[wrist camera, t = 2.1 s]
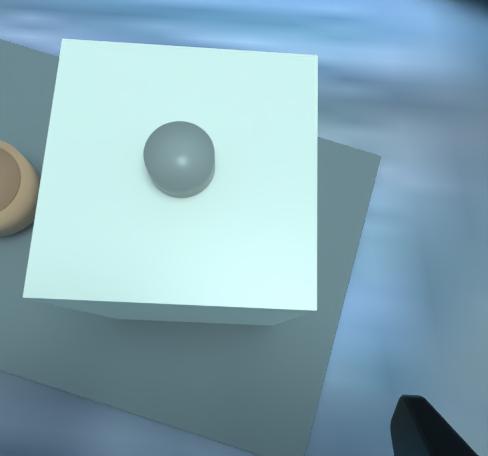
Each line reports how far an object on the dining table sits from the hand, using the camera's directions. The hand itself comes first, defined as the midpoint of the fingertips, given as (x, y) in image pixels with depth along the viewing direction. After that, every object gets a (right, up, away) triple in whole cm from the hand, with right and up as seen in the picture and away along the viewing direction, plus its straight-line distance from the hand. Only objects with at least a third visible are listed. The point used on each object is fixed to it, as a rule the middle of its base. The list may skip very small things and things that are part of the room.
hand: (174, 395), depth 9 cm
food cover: (-1, +3, +11) cm, 12 cm away
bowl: (-9, +4, +11) cm, 15 cm away
